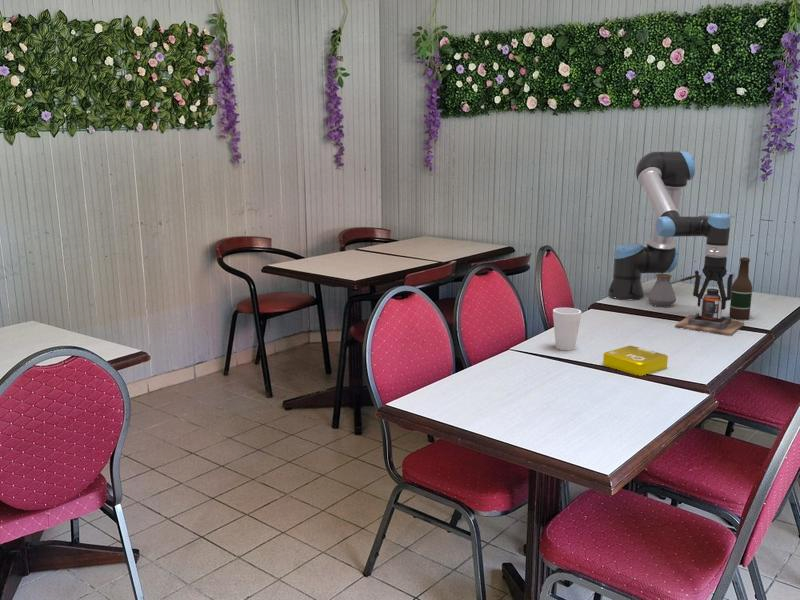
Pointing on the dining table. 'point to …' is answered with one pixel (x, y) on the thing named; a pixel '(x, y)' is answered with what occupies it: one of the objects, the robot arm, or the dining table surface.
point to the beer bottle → (741, 293)
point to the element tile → (635, 360)
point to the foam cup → (566, 327)
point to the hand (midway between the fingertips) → (710, 316)
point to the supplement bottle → (711, 304)
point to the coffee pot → (664, 290)
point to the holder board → (710, 325)
